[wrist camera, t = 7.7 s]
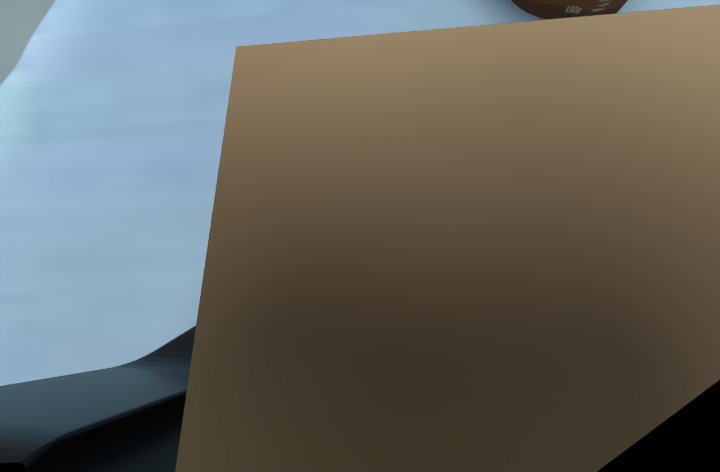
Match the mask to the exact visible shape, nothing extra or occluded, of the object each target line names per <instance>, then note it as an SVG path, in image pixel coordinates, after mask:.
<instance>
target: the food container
mask: <svg viewBox="0 0 720 472" xmlns="http://www.w3.org/2000/svg"><path fill="white" fill-rule="evenodd" d="M512 1H513V2H514V3H515V4H516V5H517V6H518V7H520V8H521V9H523V10H525V11H526V12H528V13H530V14H532V15H535V16H537V17H540V18H543V19H547V20H549V19H560V18H571V17H583V16H594V15H606V14H615V13H617V12H618V11H619V10H620V9H621V7H622V6H623V5H624V4H625V3H626V2H627V1H628V0H512Z"/></svg>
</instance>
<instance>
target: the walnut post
mask: <svg viewBox="0 0 720 472" xmlns="http://www.w3.org/2000/svg"><path fill="white" fill-rule="evenodd" d="M175 472H720V5H709V6H698V7H686V8H675V9H663V10H652V11H640V12H629V13H617V14H606V15H594V16H583V17H571V18H560V19H549V20H537V21H526V22H514V23H503V24H491V25H480V26H468V27H457V28H445V29H434V30H423V31H411V32H400V33H388V34H377V35H365V36H354V37H342V38H331V39H319V40H308V41H296V42H285V43H274V44H262V45H251V46H239V47H236V53H235V60H234V67H233V74H232V81H231V88H230V95H229V102H228V109H227V116H226V123H225V129H224V136H223V143H222V150H221V157H220V164H219V171H218V178H217V185H216V192H215V199H214V206H213V213H212V220H211V227H210V234H209V241H208V247H207V254H206V261H205V268H204V275H203V282H202V289H201V296H200V303H199V310H198V317H197V324H196V331H195V338H194V345H193V352H192V359H191V366H190V372H189V379H188V386H187V393H186V400H185V407H184V414H183V421H182V428H181V435H180V442H179V449H178V456H177V463H176V470H175Z"/></svg>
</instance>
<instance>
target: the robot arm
mask: <svg viewBox="0 0 720 472" xmlns="http://www.w3.org/2000/svg"><path fill="white" fill-rule="evenodd" d="M195 331H196V326H194V327H193V328H191V329H189V330H188V331H186V332H184V333H183V334H181V335H180V336H178V337H176V338H175V339H173V340H171V341H170V342H168V343H167V344H165V345H163V346H162V347H160V348H158V349H157V350H155V351H153V352H152V353H150V354H148V355H146V356H144V357H142V358H140V359H138V360H135V361H133V362H130V363H127V364H124V365H120V366H117V367H112V368H107V369H101V370H95V371H89V372H83V373H77V374H71V375H65V376H59V377H53V378H47V379H41V380H35V381H29V382H23V383H16V384H10V385H4V386H0V472H175V470H176V463H177V456H178V449H179V442H180V435H181V428H182V421H183V414H184V407H185V400H186V393H187V386H188V379H189V372H190V366H191V359H192V352H193V345H194V338H195Z"/></svg>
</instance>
